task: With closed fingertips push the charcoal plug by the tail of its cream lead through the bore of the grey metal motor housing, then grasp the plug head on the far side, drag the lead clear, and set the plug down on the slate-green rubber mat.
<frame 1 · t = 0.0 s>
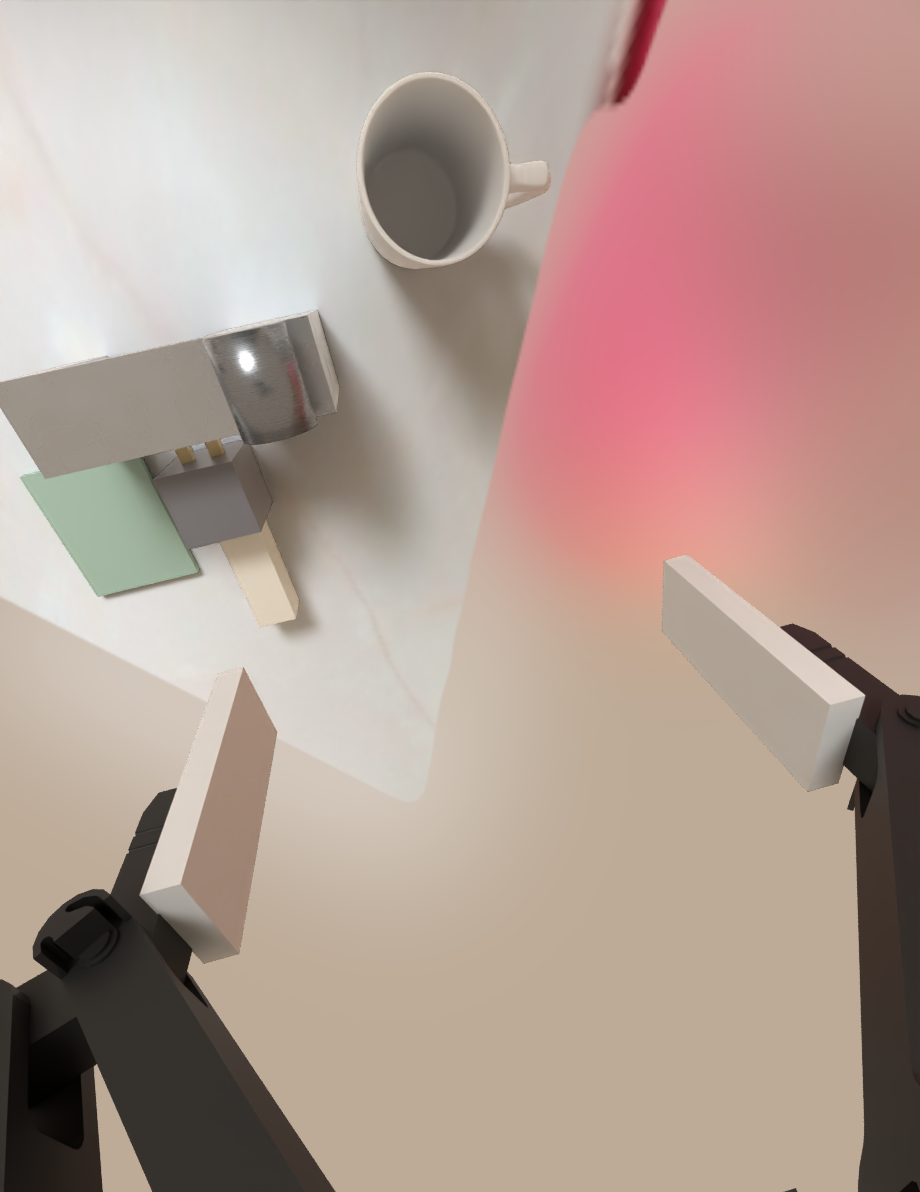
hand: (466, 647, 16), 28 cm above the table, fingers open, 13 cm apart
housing: (185, 381, 36), on the table
mug: (434, 209, 34), on the table
mat: (118, 525, 40), on the table
plug: (227, 478, 39), on the table
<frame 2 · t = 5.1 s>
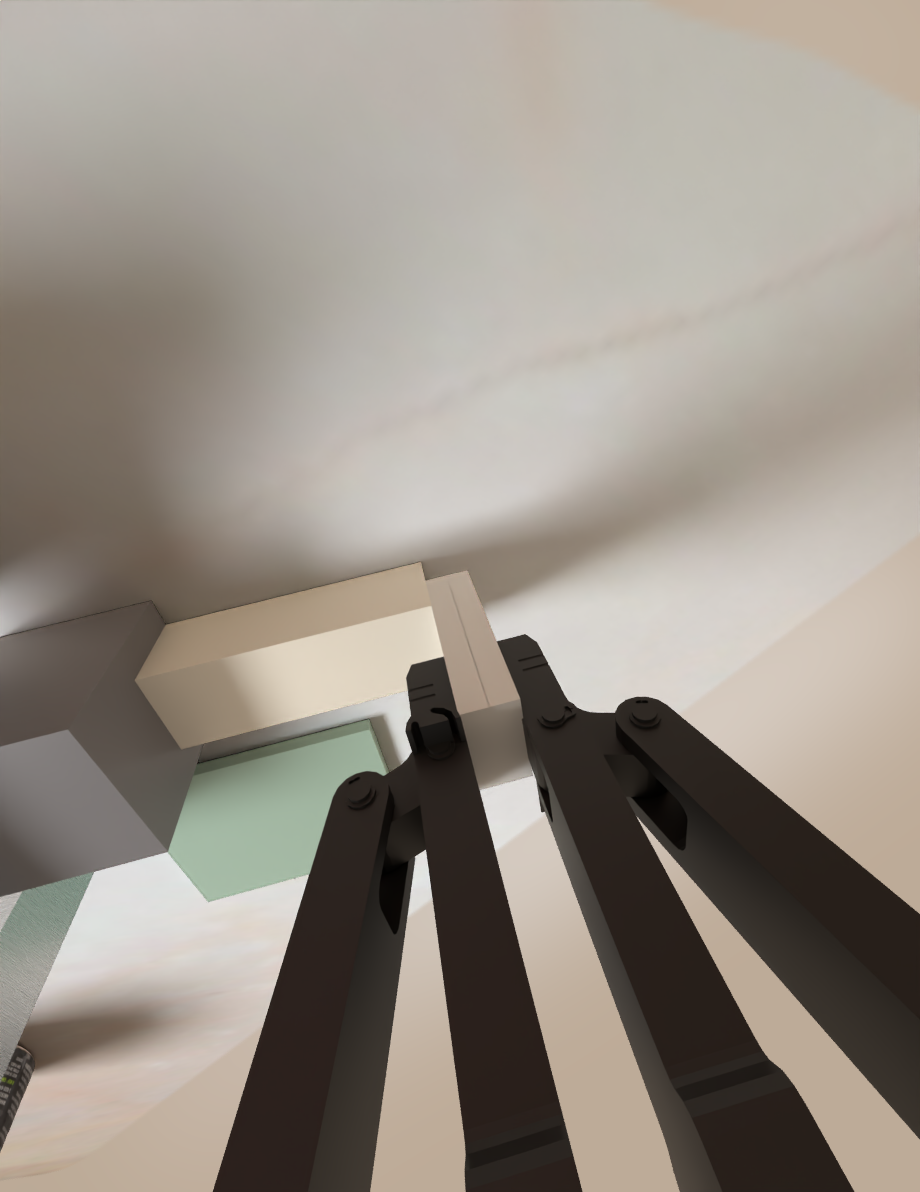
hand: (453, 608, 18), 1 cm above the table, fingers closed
mat: (284, 811, 23), on the table
plug: (115, 676, 19), on the table, touching gripper
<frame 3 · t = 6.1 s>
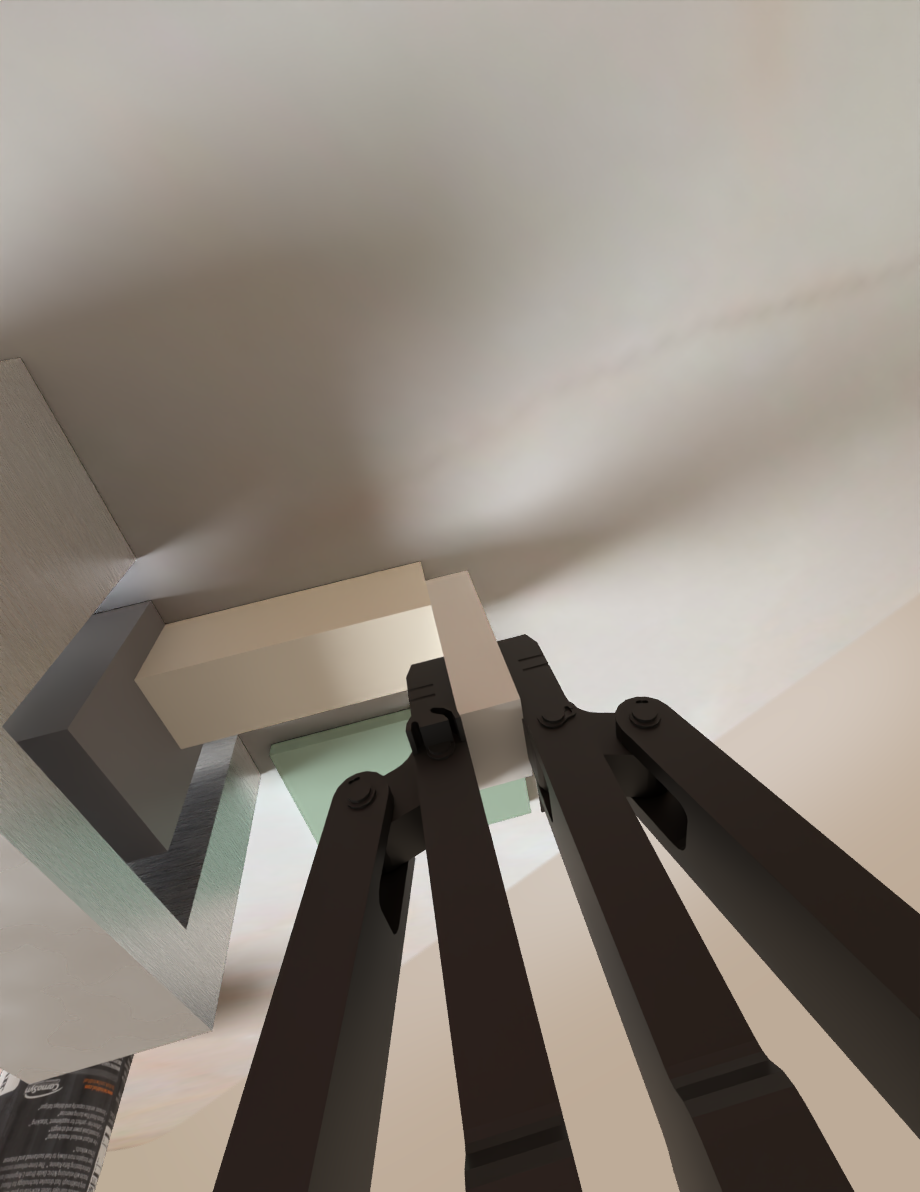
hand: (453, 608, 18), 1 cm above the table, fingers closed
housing: (122, 673, 19), on the table
mat: (412, 776, 24), on the table
pill bottle 2: (84, 1025, 30), on the table
plug: (115, 676, 19), on the table, touching gripper
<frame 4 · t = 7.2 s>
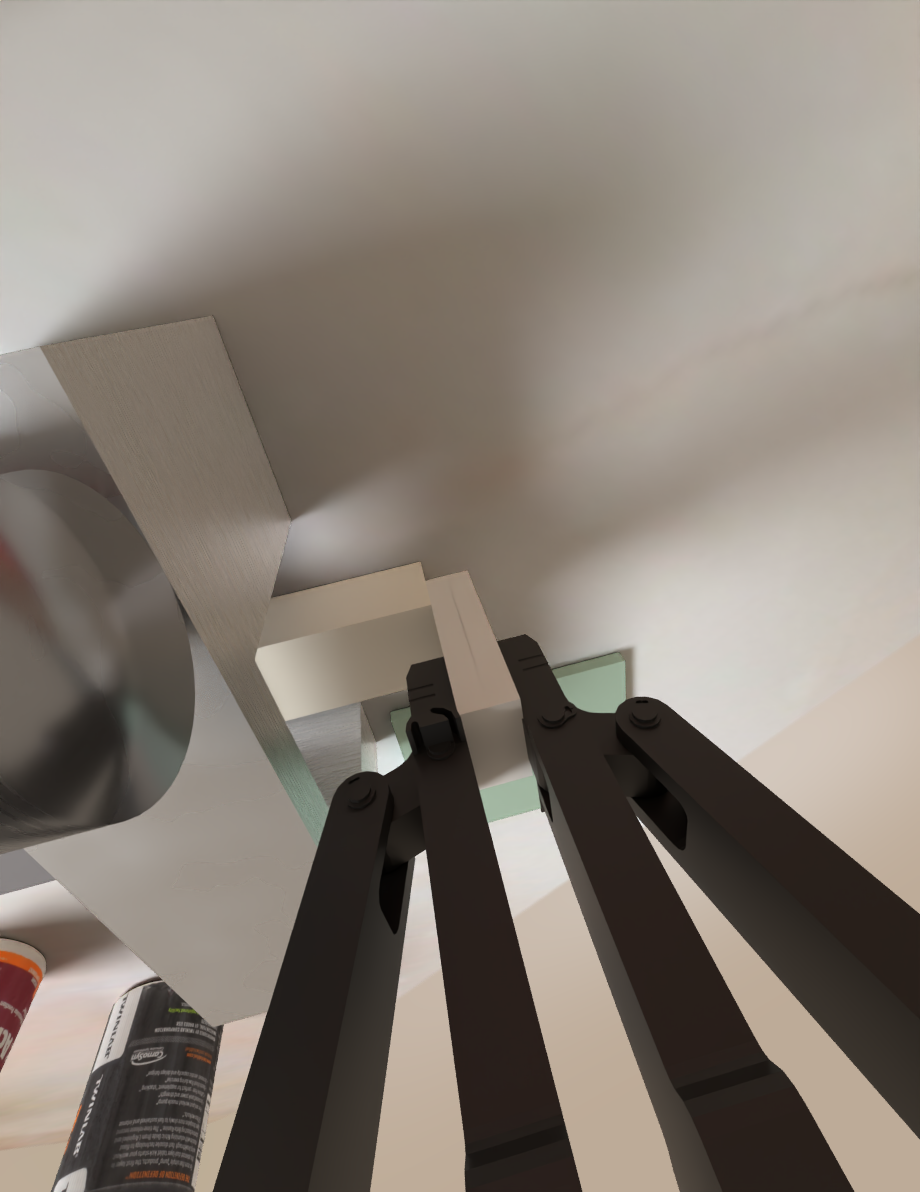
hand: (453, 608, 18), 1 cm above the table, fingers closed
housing: (261, 637, 19), on the table
mat: (517, 746, 24), on the table
pill bottle 2: (173, 998, 30), on the table
plug: (116, 675, 19), on the table, touching gripper
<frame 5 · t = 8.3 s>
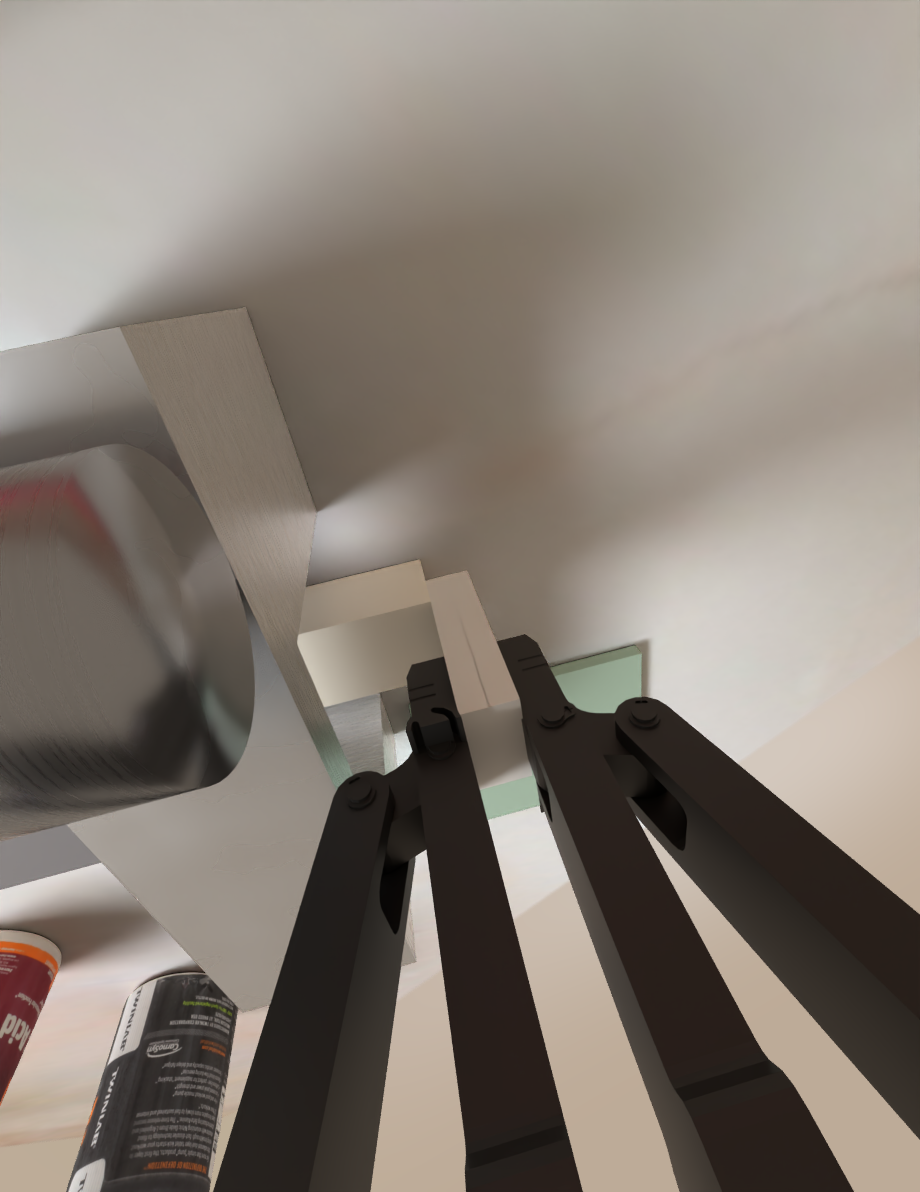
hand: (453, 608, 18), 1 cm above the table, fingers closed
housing: (284, 629, 19), on the table
pill bottle: (10, 949, 25), on the table
mat: (533, 739, 24), on the table
pill bottle 2: (186, 992, 30), on the table
plug: (116, 671, 19), on the table, touching gripper
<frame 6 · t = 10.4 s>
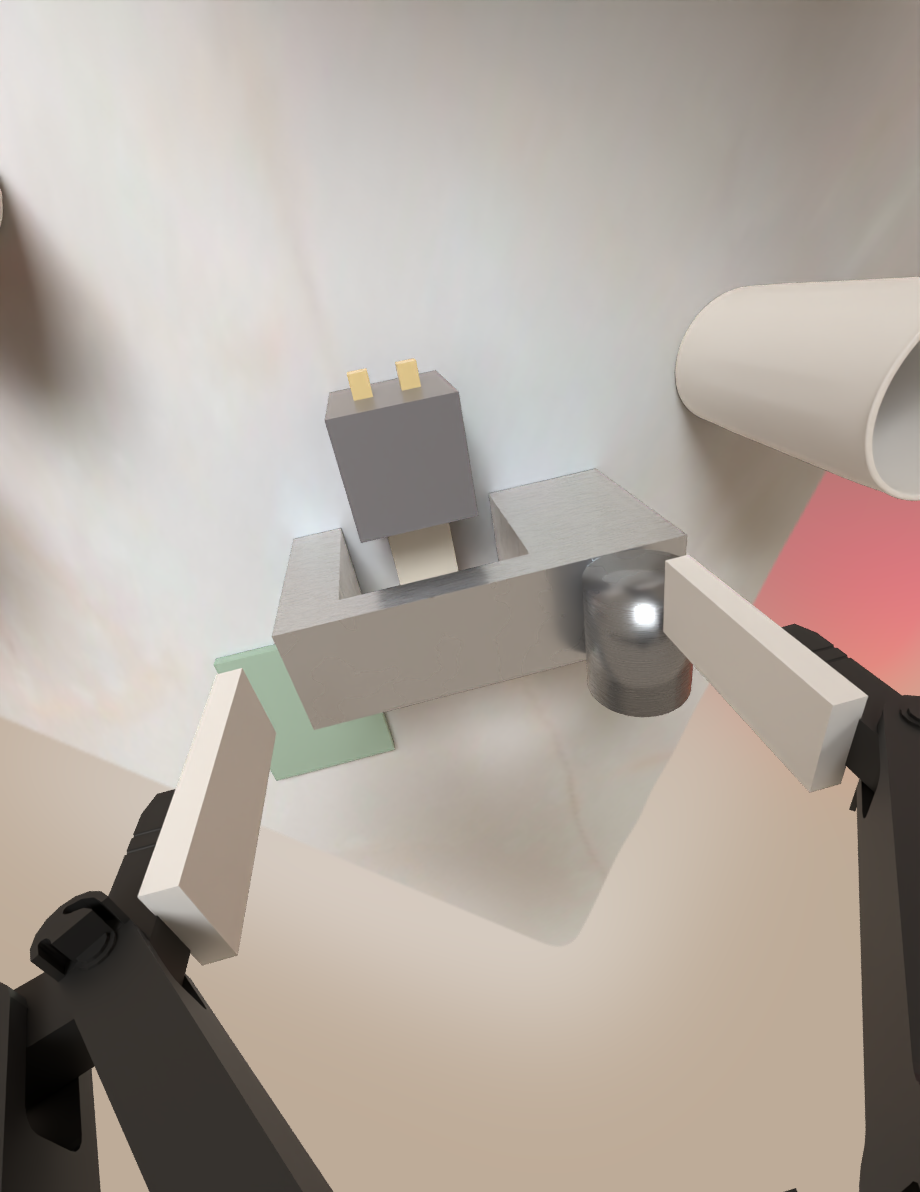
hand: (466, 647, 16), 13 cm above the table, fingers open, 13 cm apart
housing: (425, 552, 29), on the table
mug: (757, 354, 27), on the table
mat: (312, 704, 33), on the table
plug: (395, 435, 26), on the table
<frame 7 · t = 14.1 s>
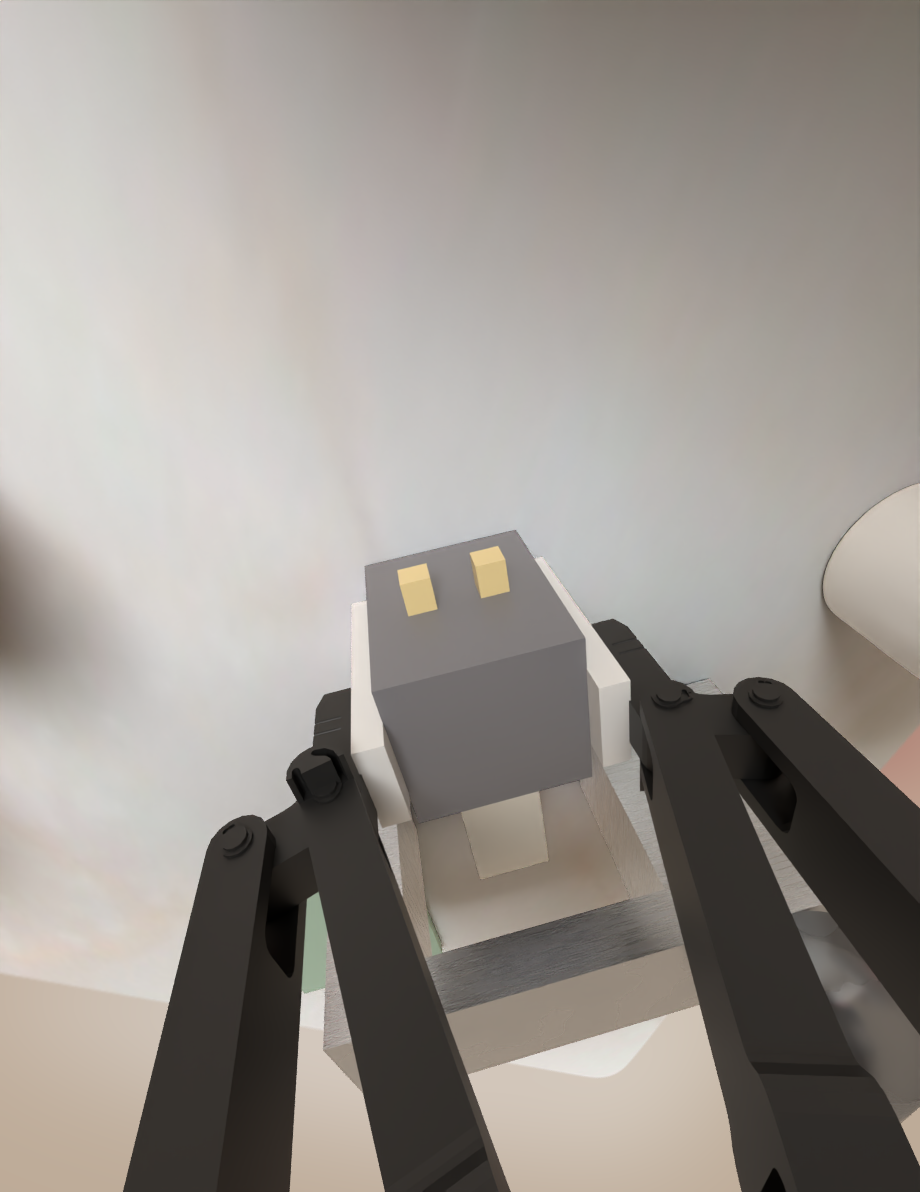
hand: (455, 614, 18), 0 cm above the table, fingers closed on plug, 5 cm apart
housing: (492, 775, 23), on the table
mat: (348, 921, 27), on the table
plug: (454, 610, 18), on the table, touching gripper
when the fingers open (1 cm above the table, at t = 19.7 s): plug stays where it is, resting on mat.
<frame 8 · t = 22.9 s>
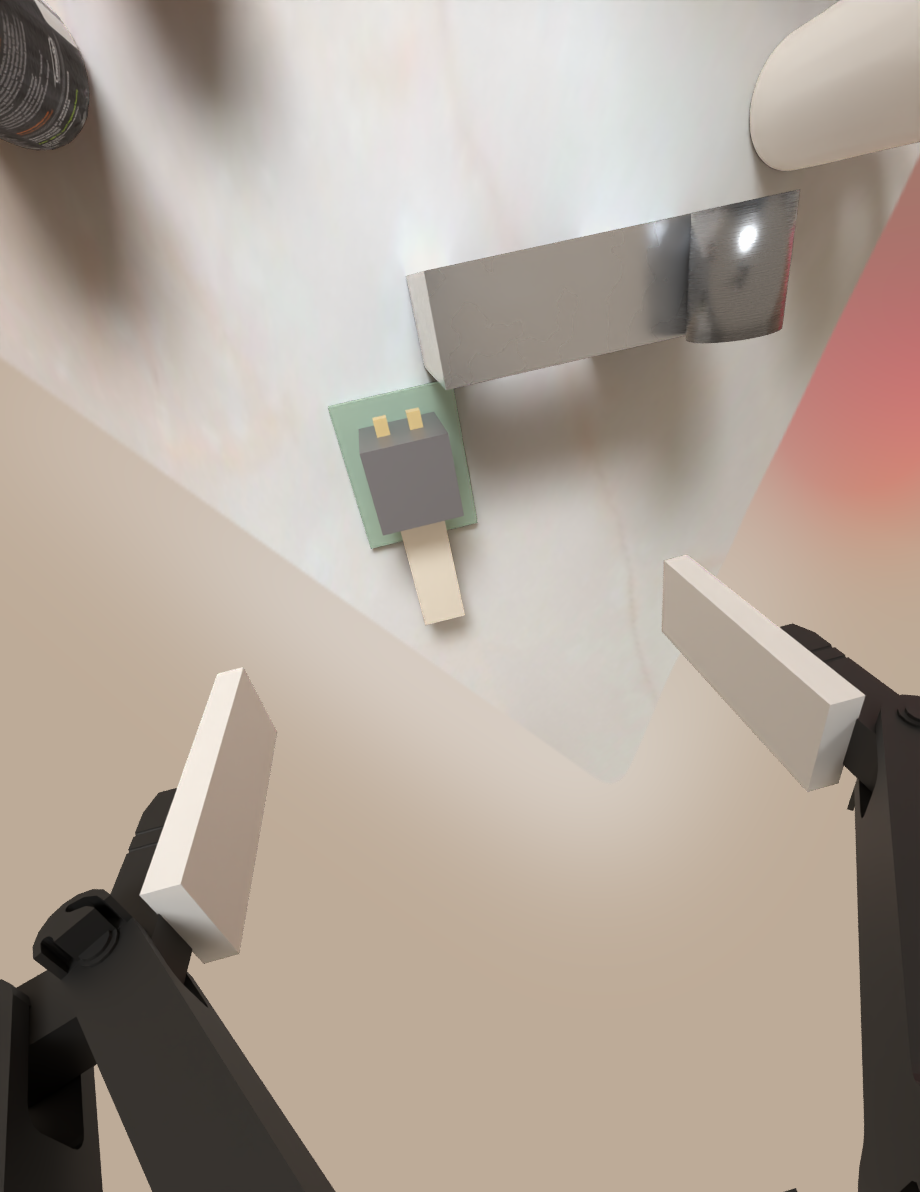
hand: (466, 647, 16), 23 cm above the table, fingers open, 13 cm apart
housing: (518, 300, 32), on the table
mug: (822, 102, 30), on the table
mat: (407, 467, 36), on the table
pill bottle 2: (20, 70, 24), on the table
plug: (405, 457, 35), point 1 cm above the table, touching mat
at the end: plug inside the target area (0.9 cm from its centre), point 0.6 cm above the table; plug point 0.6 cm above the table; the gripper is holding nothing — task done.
